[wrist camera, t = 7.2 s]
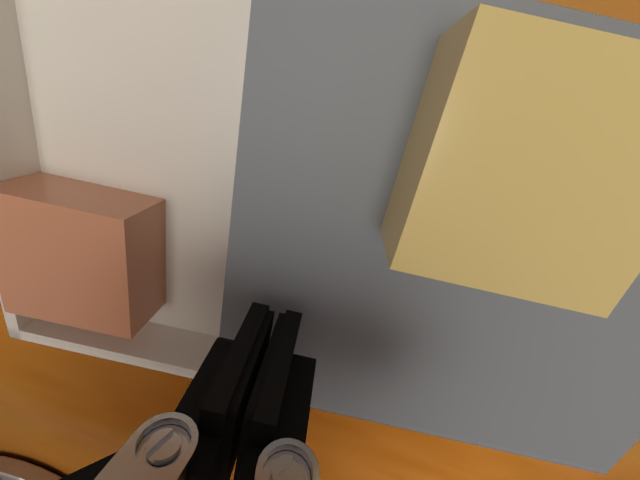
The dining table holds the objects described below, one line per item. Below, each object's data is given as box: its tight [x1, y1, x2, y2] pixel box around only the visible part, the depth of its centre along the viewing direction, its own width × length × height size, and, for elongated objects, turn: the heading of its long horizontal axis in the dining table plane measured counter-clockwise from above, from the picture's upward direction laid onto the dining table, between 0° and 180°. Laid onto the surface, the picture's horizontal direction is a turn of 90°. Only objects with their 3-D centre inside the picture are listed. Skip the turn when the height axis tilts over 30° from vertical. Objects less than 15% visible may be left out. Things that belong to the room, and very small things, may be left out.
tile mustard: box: [380, 3, 640, 318], centre depth 7 cm, size 5×5×2 cm
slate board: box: [219, 0, 640, 474], centre depth 11 cm, size 14×16×3 cm
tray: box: [0, 0, 251, 379], centre depth 11 cm, size 15×9×2 cm, turn 168°
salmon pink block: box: [0, 172, 166, 339], centre depth 12 cm, size 5×5×2 cm
